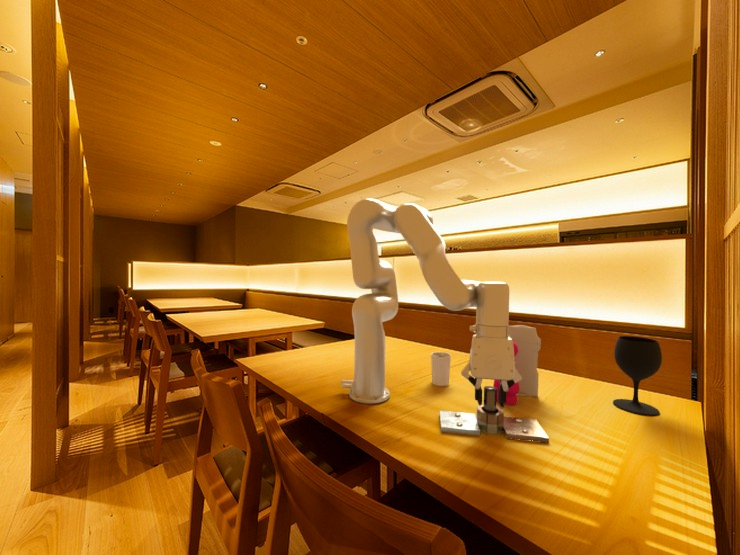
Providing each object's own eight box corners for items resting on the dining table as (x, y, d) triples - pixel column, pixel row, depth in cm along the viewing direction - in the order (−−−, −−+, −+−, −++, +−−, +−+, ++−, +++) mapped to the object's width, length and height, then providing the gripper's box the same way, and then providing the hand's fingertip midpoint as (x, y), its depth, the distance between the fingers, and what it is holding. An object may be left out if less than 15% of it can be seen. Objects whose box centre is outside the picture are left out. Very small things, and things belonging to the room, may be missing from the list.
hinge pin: (484, 430, 76) (485, 390, 76) (482, 424, 79) (483, 385, 79) (497, 431, 76) (498, 391, 76) (494, 425, 79) (495, 386, 79)
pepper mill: (522, 407, 90) (523, 338, 89) (495, 404, 91) (497, 336, 90) (515, 397, 97) (517, 333, 96) (491, 395, 98) (492, 331, 98)
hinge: (441, 431, 75) (441, 413, 75) (439, 414, 84) (440, 398, 84) (548, 443, 71) (549, 423, 71) (535, 423, 80) (535, 406, 80)
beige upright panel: (539, 394, 99) (541, 325, 98) (539, 399, 95) (541, 327, 95) (503, 388, 104) (504, 322, 103) (501, 392, 100) (503, 324, 100)
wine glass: (651, 404, 93) (653, 337, 92) (666, 419, 83) (669, 345, 83) (608, 397, 97) (610, 334, 97) (618, 411, 88) (620, 340, 87)
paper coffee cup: (452, 382, 109) (453, 353, 109) (446, 388, 103) (447, 358, 103) (434, 378, 113) (435, 350, 112) (427, 383, 107) (428, 355, 107)
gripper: (458, 332, 75) (456, 407, 75) (533, 336, 72) (531, 414, 72) (455, 327, 82) (453, 395, 83) (523, 330, 79) (522, 401, 80)
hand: (490, 403), depth 77 cm, fingers open, 4 cm apart
